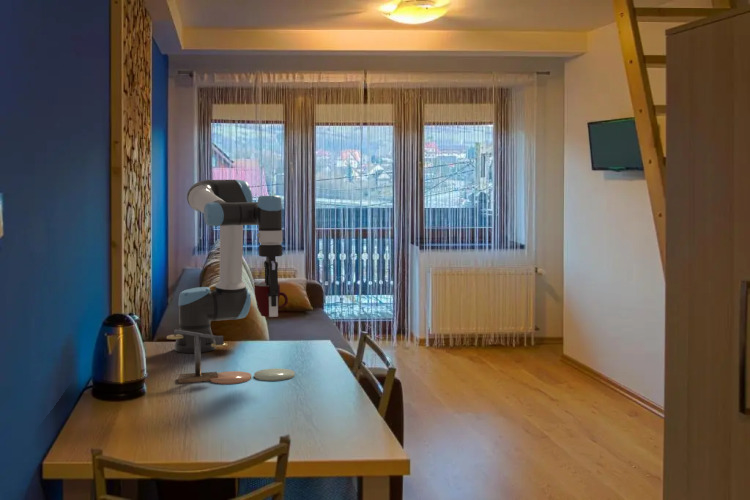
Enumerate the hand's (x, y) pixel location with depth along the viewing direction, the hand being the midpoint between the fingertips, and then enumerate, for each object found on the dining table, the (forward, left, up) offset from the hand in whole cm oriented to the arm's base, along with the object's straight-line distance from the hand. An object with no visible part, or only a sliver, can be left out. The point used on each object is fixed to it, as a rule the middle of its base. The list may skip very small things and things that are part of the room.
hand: (271, 314), depth 243 cm
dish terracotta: (0, -13, -20) cm, 24 cm away
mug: (0, 0, -1) cm, 1 cm away
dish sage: (0, +1, -20) cm, 20 cm away
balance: (-2, -23, -20) cm, 31 cm away
